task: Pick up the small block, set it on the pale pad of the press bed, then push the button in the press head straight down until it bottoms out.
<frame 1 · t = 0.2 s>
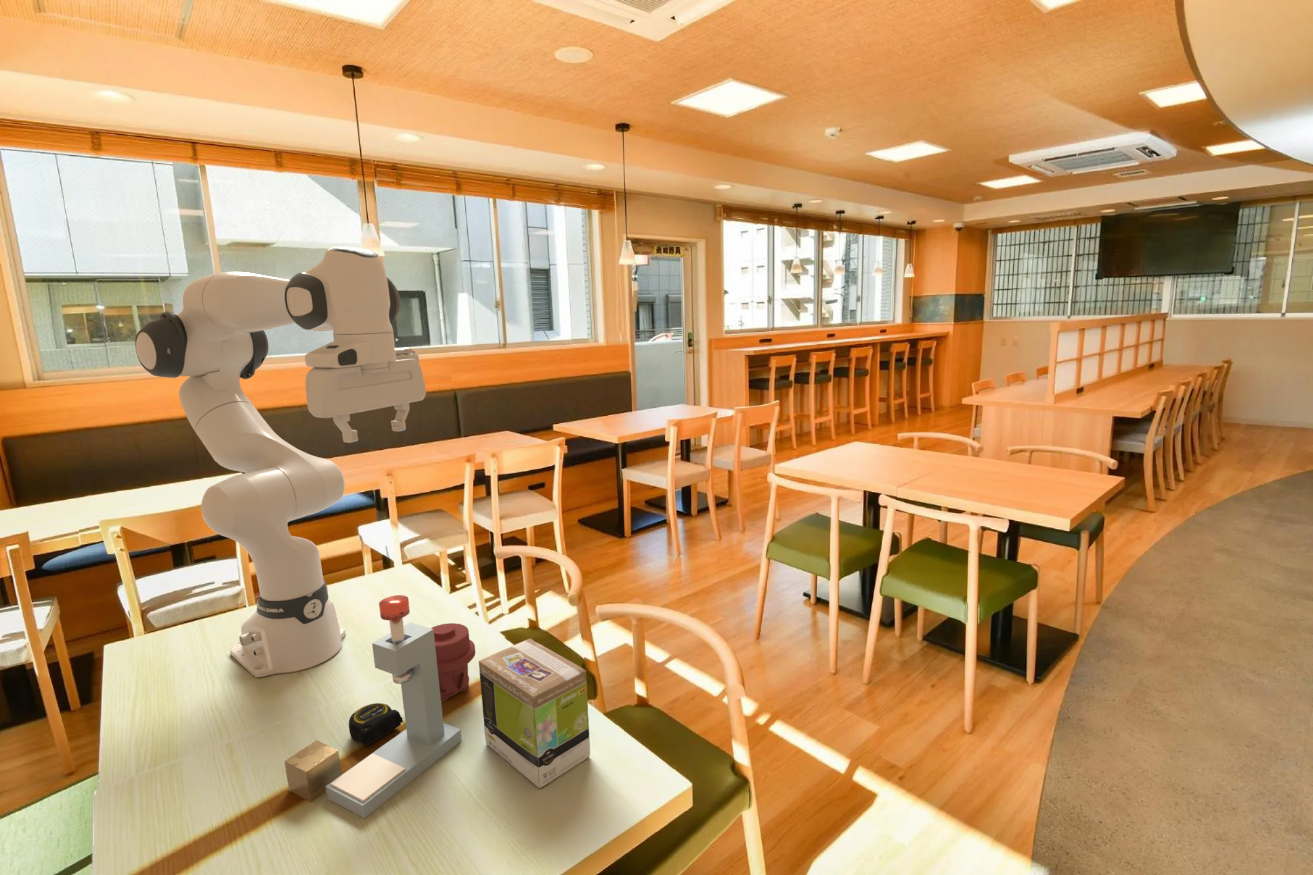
hand: (375, 436, 107), 47 cm above the table, fingers open, 8 cm apart
mechanical component: (450, 692, 117), on the table
button: (398, 640, 96), point 20 cm above the table, slide at 0.0 cm
press: (398, 767, 98), on the table
tea box: (537, 751, 101), on the table
block: (316, 785, 95), on the table
tape measure: (377, 735, 106), on the table
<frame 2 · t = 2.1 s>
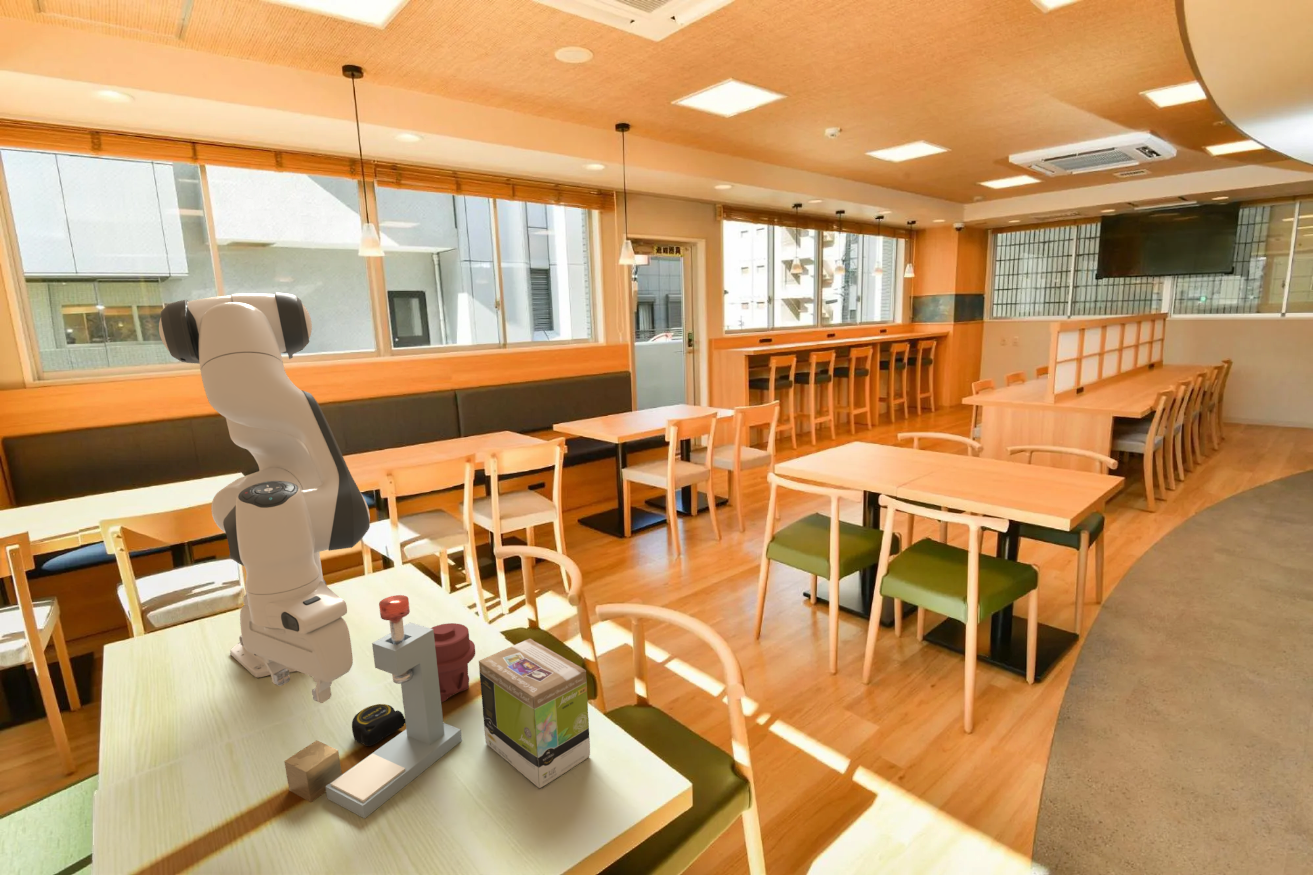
hand: (301, 690, 92), 15 cm above the table, fingers open, 8 cm apart
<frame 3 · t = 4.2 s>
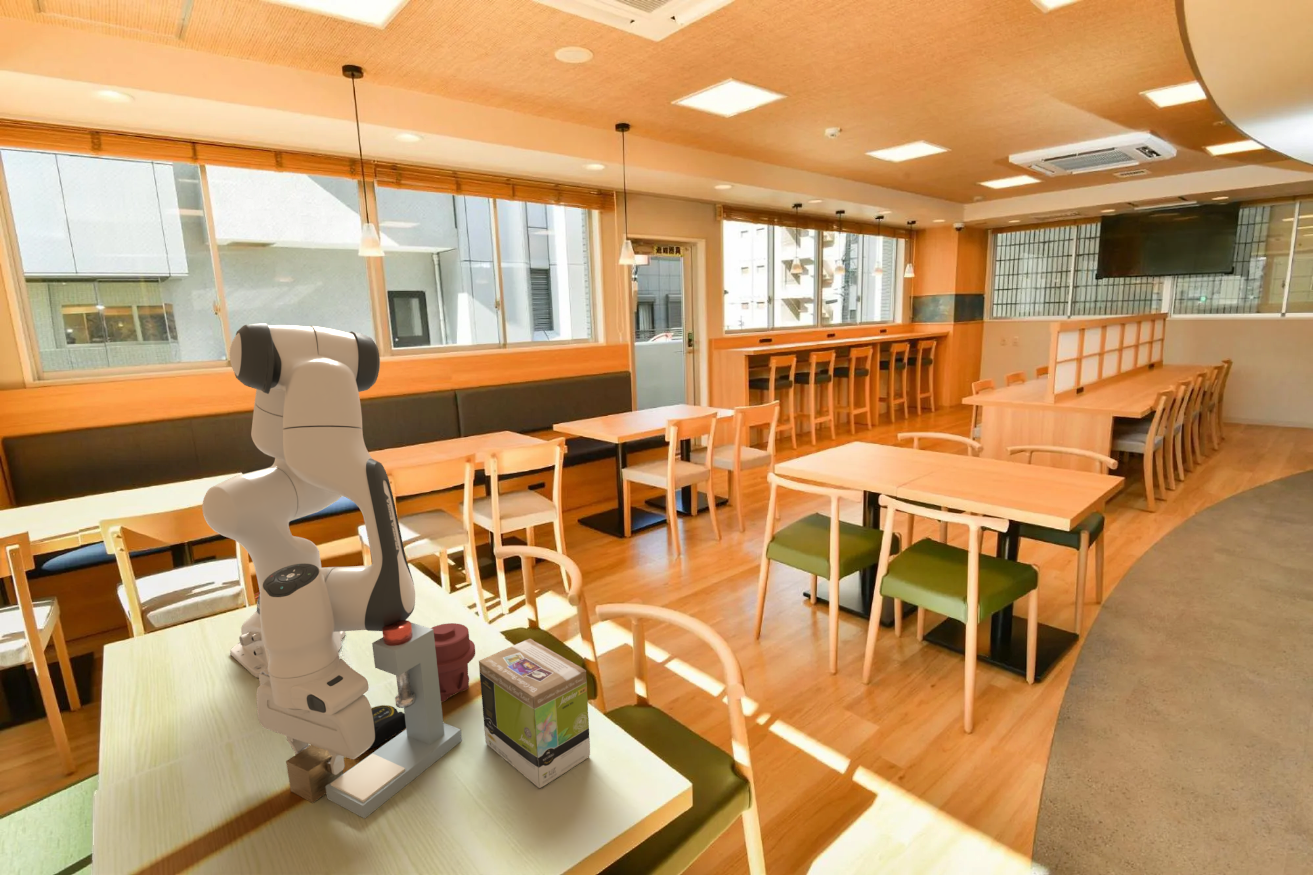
hand: (320, 764, 95), 3 cm above the table, fingers closed on block, 5 cm apart
button: (401, 664, 97), point 16 cm above the table, slide at 4.0 cm, touching arm, press
block: (317, 785, 95), on the table, touching gripper
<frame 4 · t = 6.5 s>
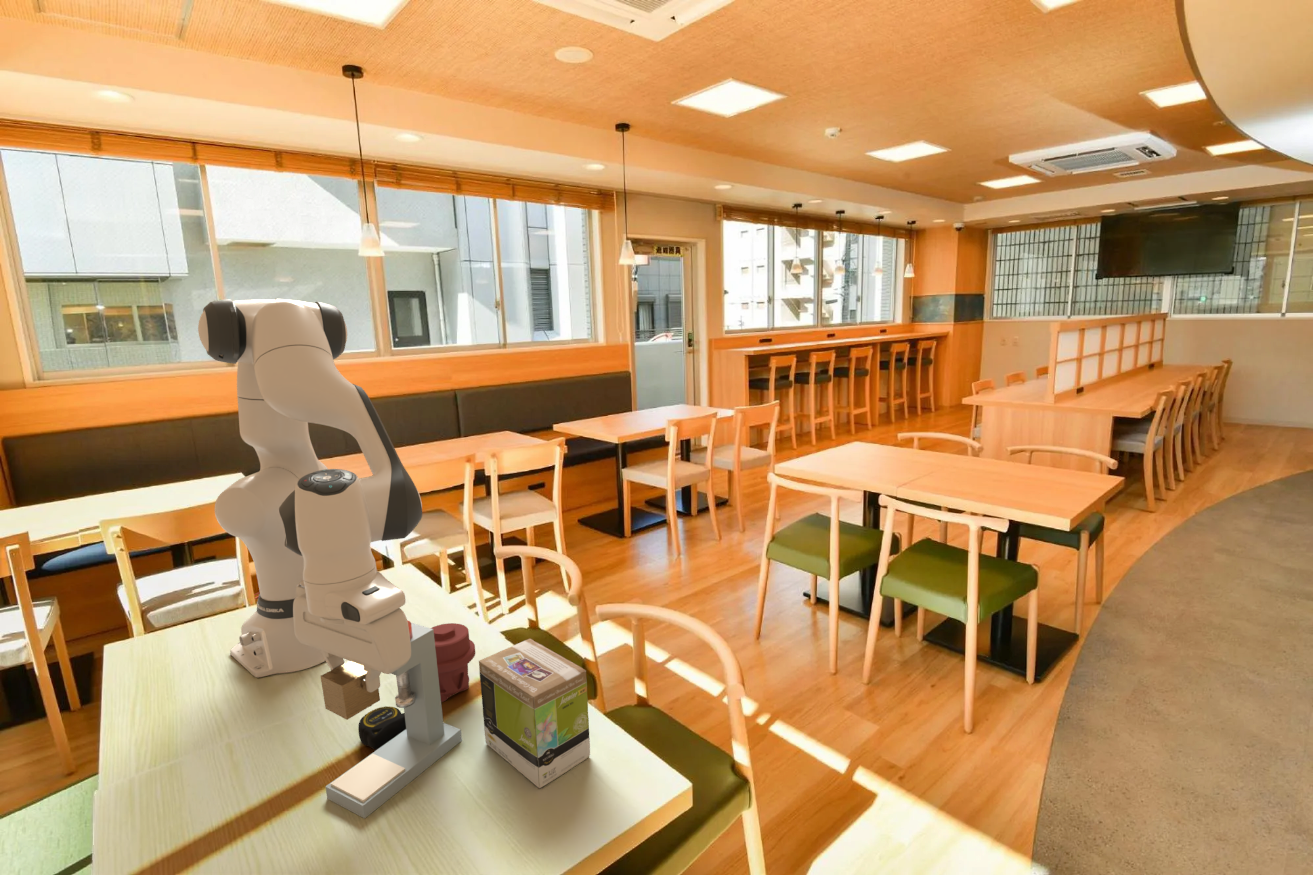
hand: (356, 683, 91), 17 cm above the table, fingers closed on block, 5 cm apart
button: (401, 664, 97), point 16 cm above the table, slide at 4.0 cm, touching press
block: (353, 704, 90), point 14 cm above the table, touching gripper
when the fingers open (5 cm above the table, at t = 9.1 s): block stays where it is, resting on press.
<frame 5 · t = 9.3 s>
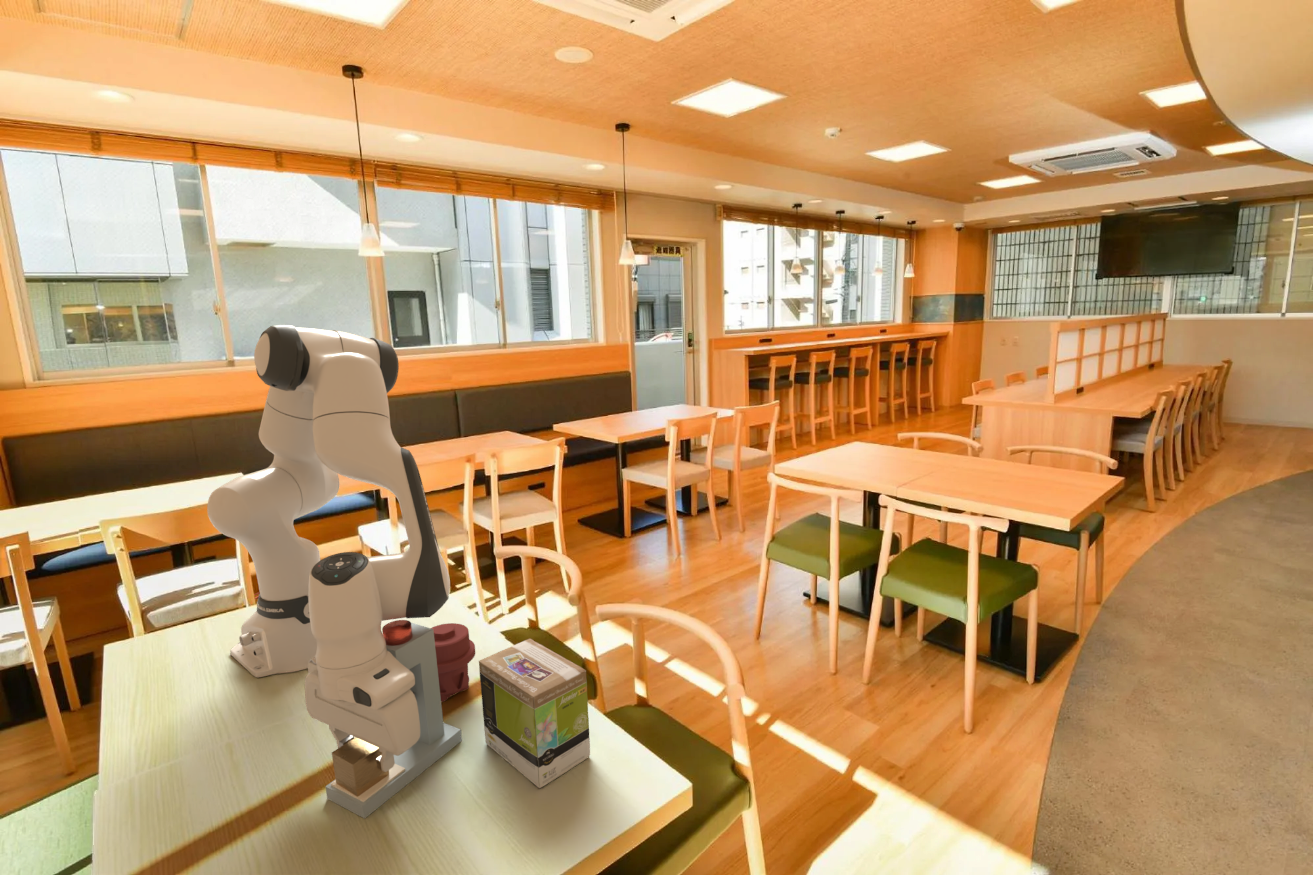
hand: (366, 758, 93), 5 cm above the table, fingers open, 7 cm apart
block: (362, 778, 93), point 2 cm above the table, touching press
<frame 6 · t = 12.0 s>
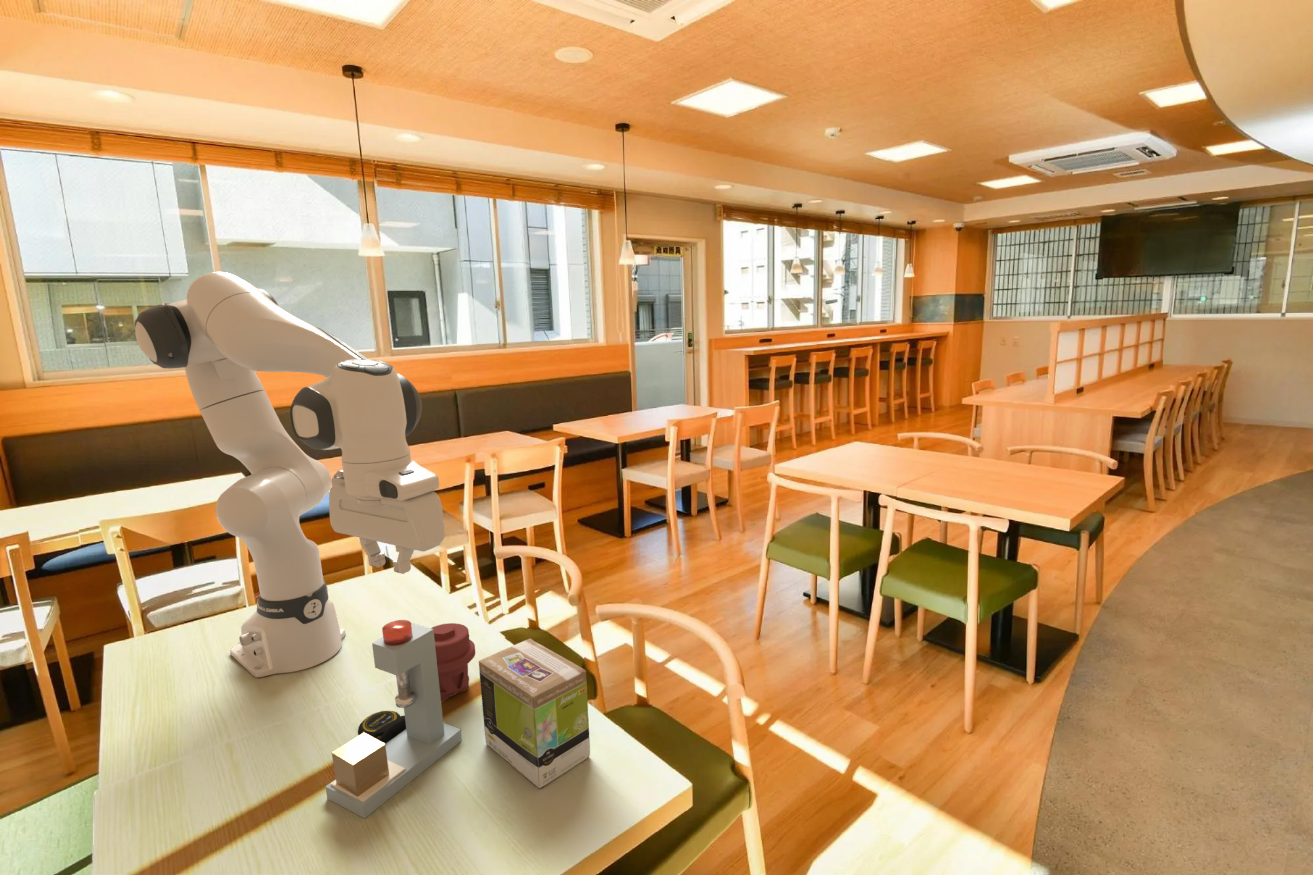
hand: (390, 568, 94), 31 cm above the table, fingers open, 4 cm apart
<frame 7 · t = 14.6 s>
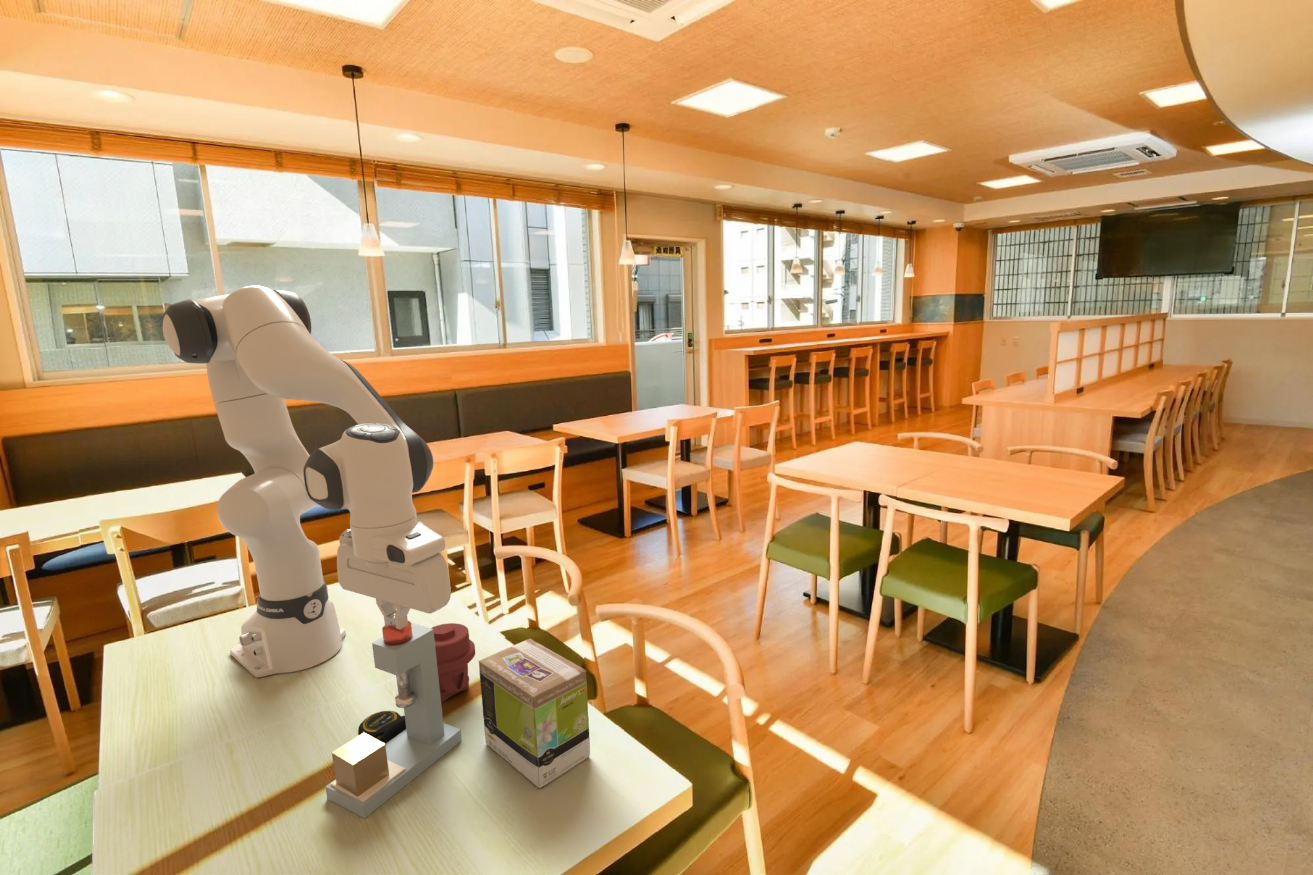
hand: (396, 626, 96), 22 cm above the table, fingers closed, pressing on button
button: (401, 664, 97), point 16 cm above the table, slide at 4.0 cm, touching gripper, press
tape measure: (387, 743, 104), on the table, touching press
everything else where it was.
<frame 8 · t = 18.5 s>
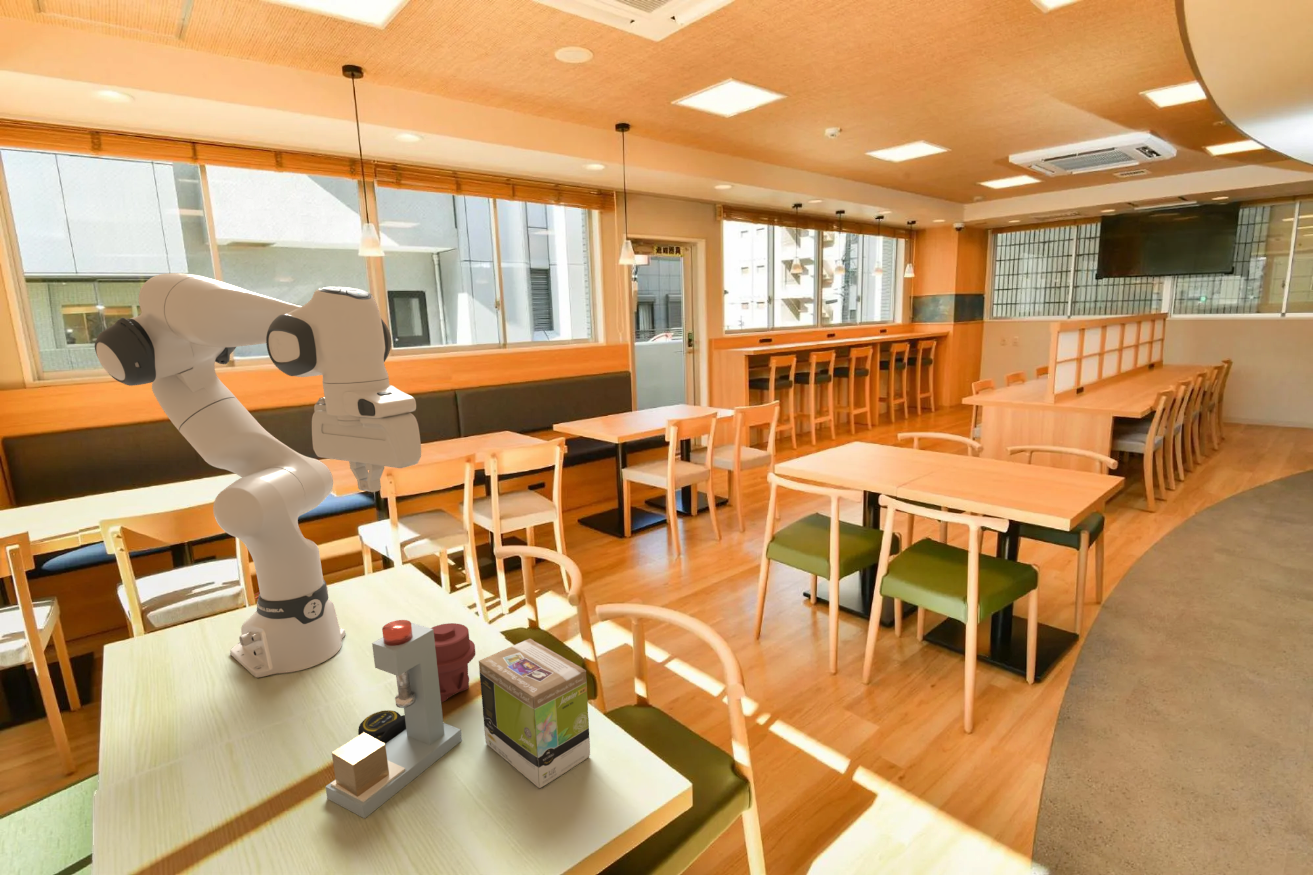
hand: (369, 490, 98), 41 cm above the table, fingers closed
button: (401, 664, 97), point 16 cm above the table, slide at 4.0 cm, touching press
tape measure: (387, 742, 105), on the table
everything else where it was.
at the end: block inside the target area on the press (0.8 cm from its centre), point 2.3 cm above the press's base; button slide at 4.0 cm; the gripper is holding nothing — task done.
